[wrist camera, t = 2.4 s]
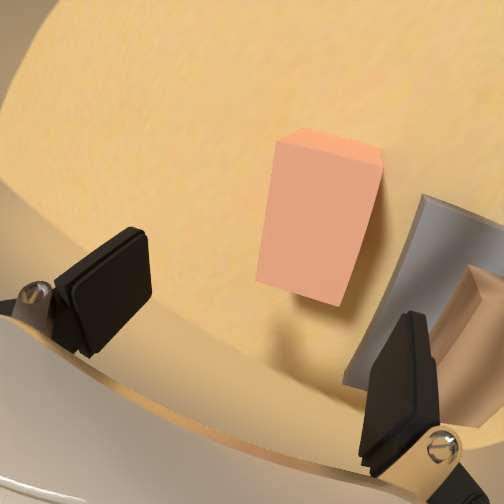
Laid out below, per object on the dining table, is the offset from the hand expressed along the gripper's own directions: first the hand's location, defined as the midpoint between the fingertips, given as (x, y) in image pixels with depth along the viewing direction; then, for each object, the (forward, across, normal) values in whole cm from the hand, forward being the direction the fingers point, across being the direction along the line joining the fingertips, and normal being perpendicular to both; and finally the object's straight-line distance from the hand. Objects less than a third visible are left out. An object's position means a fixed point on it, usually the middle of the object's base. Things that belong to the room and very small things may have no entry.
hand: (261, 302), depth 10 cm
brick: (+12, -1, 0) cm, 12 cm away
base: (+12, -16, +7) cm, 21 cm away
